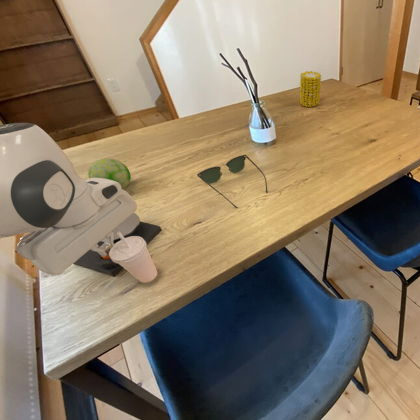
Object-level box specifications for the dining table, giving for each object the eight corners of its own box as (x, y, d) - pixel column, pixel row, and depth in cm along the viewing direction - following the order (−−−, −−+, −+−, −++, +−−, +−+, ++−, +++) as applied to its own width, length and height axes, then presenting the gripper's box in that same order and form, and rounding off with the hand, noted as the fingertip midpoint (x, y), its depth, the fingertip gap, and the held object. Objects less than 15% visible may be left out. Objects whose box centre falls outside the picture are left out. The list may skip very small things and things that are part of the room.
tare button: (112, 263, 61) (107, 258, 60) (101, 260, 62) (97, 255, 61) (123, 253, 63) (119, 248, 62) (112, 250, 64) (108, 245, 63)
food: (308, 102, 138) (323, 108, 133) (291, 103, 130) (306, 110, 125) (313, 69, 130) (329, 74, 125) (295, 68, 122) (311, 74, 117)
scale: (114, 277, 61) (106, 269, 59) (73, 264, 63) (65, 256, 61) (162, 229, 71) (157, 221, 69) (125, 220, 74) (119, 212, 72)
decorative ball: (92, 194, 82) (71, 166, 76) (122, 176, 89) (106, 149, 82) (115, 203, 79) (95, 174, 73) (144, 183, 86) (128, 156, 79)
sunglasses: (227, 214, 76) (222, 200, 72) (201, 186, 85) (195, 173, 82) (276, 189, 84) (274, 175, 80) (247, 166, 93) (244, 153, 90)
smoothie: (155, 288, 59) (122, 246, 49) (126, 288, 59) (87, 245, 49) (168, 263, 63) (140, 220, 54) (141, 263, 63) (108, 220, 54)
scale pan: (117, 246, 63) (115, 245, 63) (83, 237, 66) (82, 235, 65) (149, 217, 70) (148, 216, 70) (118, 210, 73) (117, 208, 72)
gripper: (23, 250, 44) (76, 295, 54) (125, 178, 59) (153, 223, 68) (-4, 241, 46) (52, 286, 55) (102, 173, 60) (132, 218, 69)
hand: (108, 251), depth 62 cm, fingers closed, pressing on tare button
